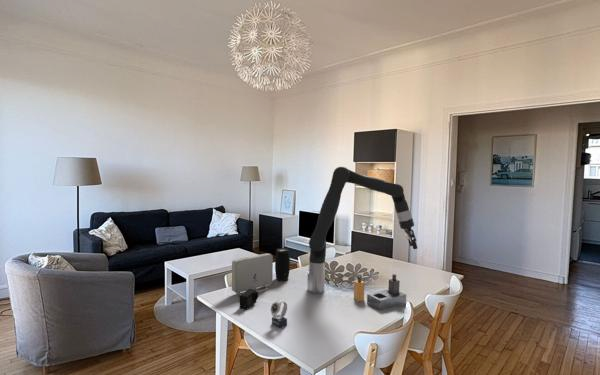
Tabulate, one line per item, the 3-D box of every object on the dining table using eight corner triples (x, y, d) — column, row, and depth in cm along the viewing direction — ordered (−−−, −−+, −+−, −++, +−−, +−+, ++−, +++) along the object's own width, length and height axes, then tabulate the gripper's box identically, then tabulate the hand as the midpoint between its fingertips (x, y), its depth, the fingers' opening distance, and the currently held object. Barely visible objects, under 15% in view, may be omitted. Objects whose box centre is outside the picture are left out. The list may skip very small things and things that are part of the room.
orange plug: (358, 301, 180) (359, 277, 179) (353, 298, 183) (354, 275, 182) (364, 300, 182) (364, 276, 181) (359, 297, 185) (360, 274, 184)
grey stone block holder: (379, 310, 169) (380, 300, 168) (367, 303, 177) (367, 293, 177) (406, 303, 178) (406, 294, 177) (392, 297, 186) (392, 288, 186)
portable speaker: (289, 281, 209) (290, 251, 208) (274, 281, 208) (275, 251, 207) (289, 276, 217) (289, 247, 216) (274, 277, 217) (275, 247, 215)
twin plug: (393, 300, 177) (394, 276, 176) (388, 297, 181) (388, 274, 180) (398, 298, 179) (399, 275, 178) (393, 296, 183) (394, 273, 182)
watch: (268, 325, 150) (268, 301, 150) (281, 319, 156) (282, 297, 155) (276, 329, 146) (276, 305, 146) (289, 324, 152) (290, 300, 151)
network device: (237, 298, 181) (237, 262, 180) (229, 293, 187) (229, 258, 186) (274, 287, 198) (275, 254, 196) (266, 283, 204) (266, 251, 203)
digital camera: (248, 310, 166) (248, 296, 165) (239, 308, 168) (239, 295, 167) (258, 302, 175) (258, 289, 175) (249, 301, 177) (249, 288, 177)
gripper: (396, 219, 189) (404, 246, 189) (400, 222, 175) (409, 251, 175) (409, 215, 188) (417, 243, 188) (414, 218, 174) (423, 248, 174)
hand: (413, 247), depth 181 cm, fingers open, 8 cm apart
